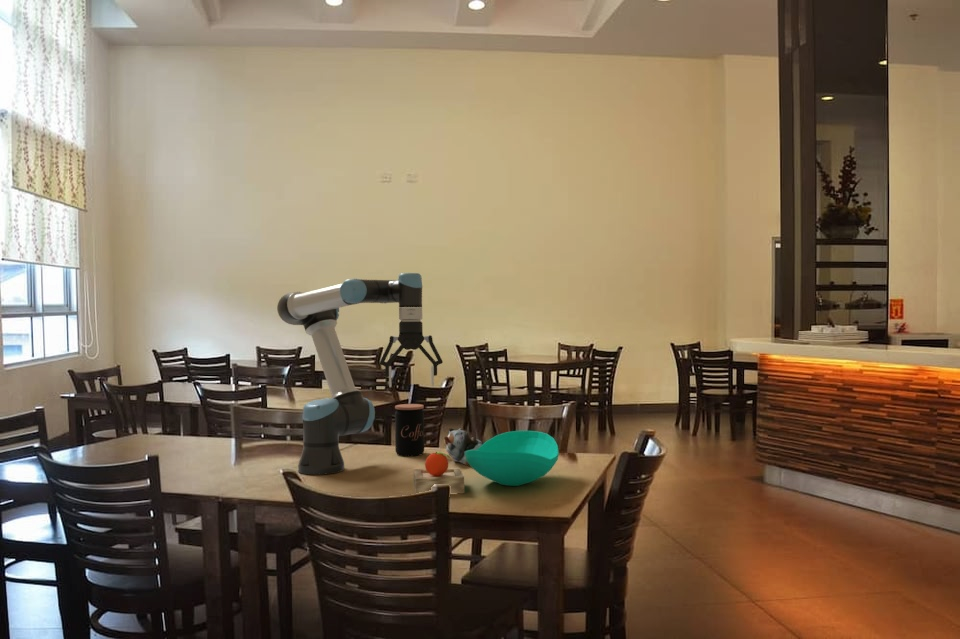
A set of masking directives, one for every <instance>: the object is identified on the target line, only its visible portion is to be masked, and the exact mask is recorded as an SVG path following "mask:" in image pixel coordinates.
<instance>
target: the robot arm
mask: <svg viewBox="0 0 960 639" xmlns="http://www.w3.org/2000/svg"><path fill="white" fill-rule="evenodd" d="M391 303H392V304H393V303H394V304H395V303H398V319H399V320H400V322H398V323H399V324H398V332H399V334H398V336H393V335H390V336H389V342H388V344H387V346H386V348H385V350H384V353H383V355H382V356H381V359H380V361H379V365H382V366H384V367H385V368H384V370H385V372H384V373H385V374H384V375H385V377H388V386H389V387H388V388H392V366H391V364H392V363H393V361H395V359H396V358H397V357H398V355H399V354H400V353H401V352H402V351H403V349H404V350H408V351H409V350H413V351H414V350H415V351H416V350H418V349H419V350H420V351H421V352H422V353H423V355H424V356H425V357H426V358H427V359H428V360H429V361H430V363H431V364H432V365H430V386H431V387H434V386H435V379H434V377H436V376H438V366H439V365H441V364H443V360H442V358H441V355H440V353H439V352H438V350H437V348H436V346H435V344H434V340H433V336H432V335H425V336H424V335H423V322H422V320H423V279H422V275H421V274H420V273H419V272H402V273H399V275H398V278H397V279H360V278H359V279H358V278H350V279H349V278H348V279H346V280H344V281H343V282H341V283H340V284H339V283H338V284H335V285H331V286H325V287H323V288H319V289H315V290H314V289H313V290H309V291H307V292H301V291H294V292H289V293H286V294H284V295H282V296H281V298H279V300H278V302H277V307H276V308H277V314H278V316H279V318H280V319H281V320H282V321H283V322H284V323H286V324H288V325H293V326H303V329H304V330H305V333H306V334H307V335H309V336H311V338H312V341H313V343H314V347H315V351H316V352H317V355H318V356H317V357H318V359H319V362H320V365H321V369H322V370H323V374H324V376H325V380H326V382H327V385H328V389H329V391H330V392H329V393H330V394H331V397H330V398H322V399H321V398H320V399H315V400H311V401H309V402H307V403H305V404H304V405H303V409H302V417H301V418H302V433H303V434H302V436H303V437H302V439H303V441H302V442H303V443H302V444H303V445H302V446H303V447H302V452H301V455H300V457H299V458H300V459H299V461H298V466H297V468H298V470H297V471H298V472H299V473H300V474H302V475H330V474H331V475H332V474H336V473H340V472H343V471H344V470H345V461H344V458H343V455H342V453H341V450H340V446H339V444H340V443H339V442H340V441H339V437H341V436H348V435H353V434H354V435H355V434H361V433H364V432H366V431H368V430H369V429H371V427H372V426H373V424H374V420H375V417H376V416H375V415H376V410H375V406H374V404H373V402H372V401H371V400H370V399H368V398H366V397H364V395H363V393H362V390H360V389H358V388H356V386H355V383H354V381H353V377H352V374H351V371H350V369H349V367H348V363H347V360H346V357H345V354H344V350H343V349H342V346H341V342H340V340H339V337H338V334H337V332H336V327H337V324H338V319H339V316H340V308H344V307H348V306H353V305H359V304H391ZM397 341H398V343H399V344H400V345H399V347H398V348H397V349H396V350H395V351H394V353H393V354H392V355H391V357H389V359H387V357H388V355H389V353H390V351H391V349H392V347H393V344H395V343H396V342H397ZM424 341H426V343H428V344H429V346H430V349H431V350H432V352H433V354H434V356H435V358H436V360H435V359H434V358H433V357H432V356H431V354H429V352H428V351H427V350H426V349H425V348H424V346H422V343H423V342H424ZM386 359H387V361H386Z"/></svg>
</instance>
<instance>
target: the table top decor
mask: <svg viewBox="0 0 960 639" xmlns="http://www.w3.org/2000/svg"><path fill="white" fill-rule="evenodd" d="M559 456H560V452H559V445H558V444H557V442H556V439H555V438H554V437H553V436H551V435H550V434H548V433H545V432H542V431H536V430H514V431H513V430H511V431H506V432H502V433H499V434H497V435H495V436H493V437H492V438H490V439H488V440H486V441H485V442H484V443H483V445H481V446H480V447H479V448H478V449H477V450H467V451H466V452H465V457H466V460H467V462H468V463H469V465H470V466H469V467H471V469H473V470H474V471H475V472H476V473H478V475H480V476H483V477H484V478H486V479H488V480H490V481H493V482H495V483H498V484H499V485H501V486H511V487H512V486H513V487H518V486H523V485H526V484H528V483H532V482H534V481H536V480H538V479H541V478H542V477H544V476H546V475H547V474H548V473H549V472H550V471H551V470H552V469H553V468H554V466H555V465H556V463H557V461H558V460H559Z"/></svg>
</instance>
